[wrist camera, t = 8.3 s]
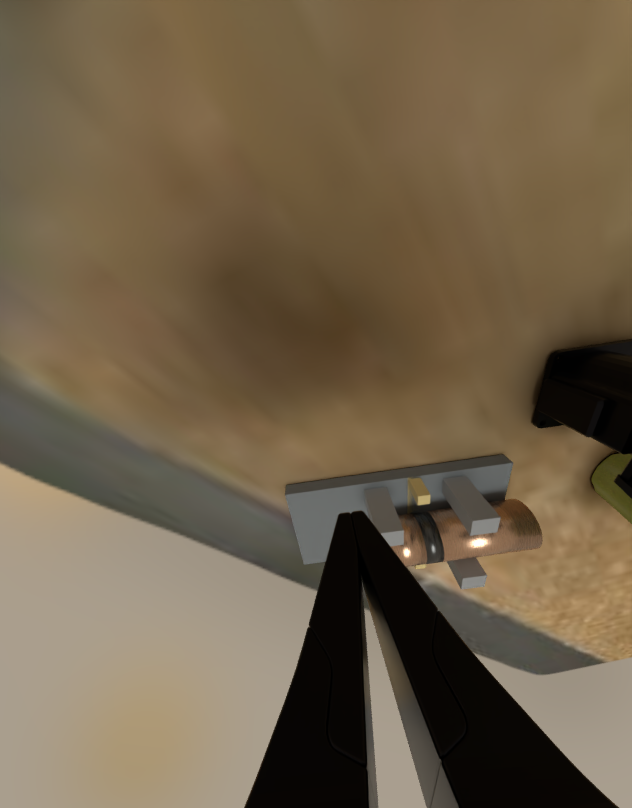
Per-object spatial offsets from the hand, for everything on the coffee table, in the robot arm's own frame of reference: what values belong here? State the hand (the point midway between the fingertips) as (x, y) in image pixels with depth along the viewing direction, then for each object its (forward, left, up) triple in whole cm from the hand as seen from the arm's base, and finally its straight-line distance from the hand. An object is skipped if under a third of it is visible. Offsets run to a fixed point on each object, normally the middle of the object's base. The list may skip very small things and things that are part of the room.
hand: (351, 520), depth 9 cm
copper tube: (-9, +14, -11) cm, 20 cm away
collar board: (-5, +14, -12) cm, 19 cm away
